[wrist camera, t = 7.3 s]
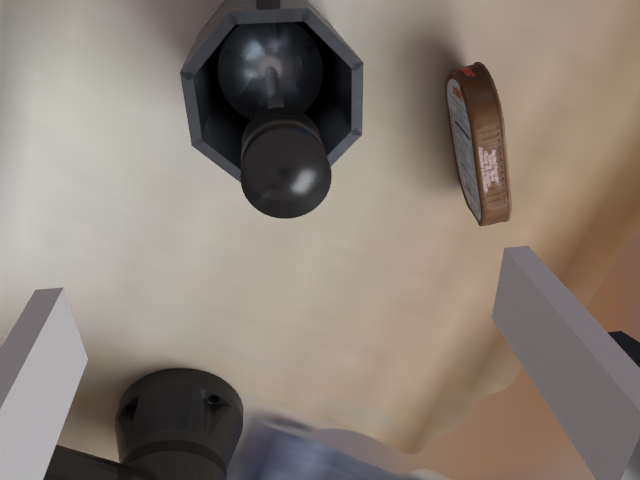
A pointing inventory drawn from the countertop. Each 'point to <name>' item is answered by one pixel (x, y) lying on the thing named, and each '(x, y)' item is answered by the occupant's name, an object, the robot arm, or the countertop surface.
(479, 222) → the tin
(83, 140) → the countertop surface
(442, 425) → the countertop surface
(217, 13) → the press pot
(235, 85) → the plunger
